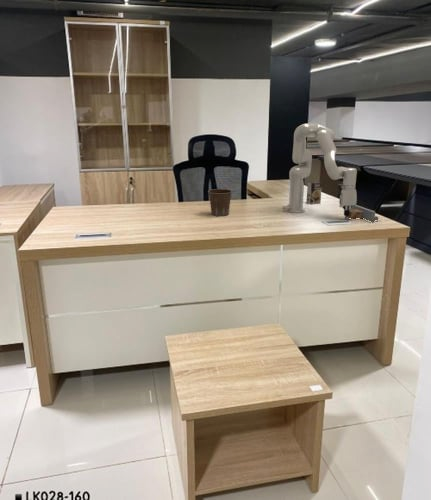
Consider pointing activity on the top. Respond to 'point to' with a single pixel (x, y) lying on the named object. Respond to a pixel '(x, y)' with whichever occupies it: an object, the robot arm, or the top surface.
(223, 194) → the plant pot
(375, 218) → the board
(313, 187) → the coffee box
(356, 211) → the walnut block
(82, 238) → the top surface
